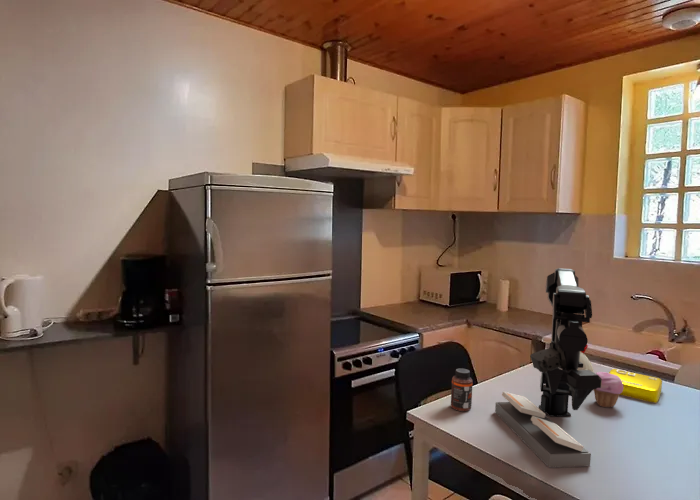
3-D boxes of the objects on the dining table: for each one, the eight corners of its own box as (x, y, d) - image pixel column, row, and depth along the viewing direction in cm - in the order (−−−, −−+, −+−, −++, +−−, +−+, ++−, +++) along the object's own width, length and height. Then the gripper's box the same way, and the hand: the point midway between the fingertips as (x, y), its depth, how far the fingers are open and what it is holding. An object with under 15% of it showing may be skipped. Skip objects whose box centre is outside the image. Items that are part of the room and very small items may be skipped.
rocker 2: (554, 428, 111) (556, 423, 111) (581, 451, 101) (584, 446, 100) (530, 419, 110) (532, 415, 110) (555, 442, 100) (557, 437, 100)
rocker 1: (523, 400, 127) (524, 396, 127) (544, 418, 116) (545, 413, 116) (501, 395, 126) (503, 390, 126) (520, 412, 115) (522, 407, 115)
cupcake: (586, 397, 140) (588, 366, 139) (616, 400, 138) (618, 370, 137) (593, 408, 132) (595, 376, 131) (625, 412, 129) (628, 380, 128)
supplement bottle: (472, 413, 126) (473, 375, 125) (450, 410, 127) (452, 373, 126) (470, 404, 132) (472, 368, 131) (450, 402, 133) (452, 366, 132)
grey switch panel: (527, 411, 128) (528, 400, 128) (590, 466, 100) (591, 451, 100) (495, 412, 127) (495, 400, 127) (548, 467, 99) (549, 453, 99)
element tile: (602, 391, 146) (603, 377, 146) (611, 379, 158) (612, 366, 157) (656, 405, 137) (658, 390, 136) (661, 391, 148) (663, 377, 148)
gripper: (517, 330, 116) (514, 387, 117) (559, 353, 97) (554, 420, 99) (557, 329, 117) (553, 386, 118) (605, 352, 98) (600, 418, 100)
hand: (563, 401), depth 109 cm, fingers open, 9 cm apart
